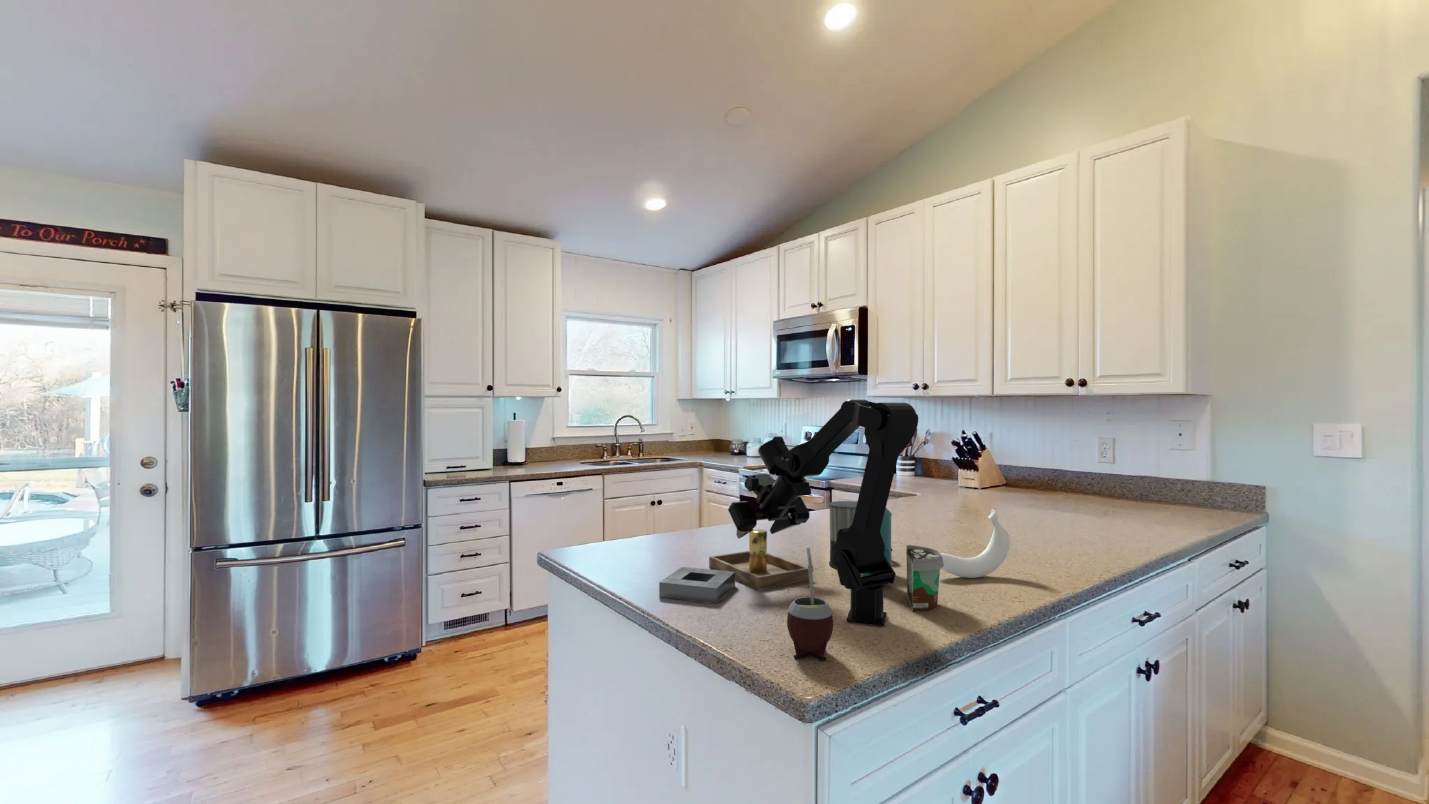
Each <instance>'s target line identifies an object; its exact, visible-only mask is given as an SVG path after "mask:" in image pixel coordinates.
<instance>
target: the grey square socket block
mask: <svg viewBox="0 0 1429 804" xmlns="http://www.w3.org/2000/svg"><path fill="white" fill-rule="evenodd" d="M658 583H659V586H658V587H659V588H658V590H659V591H658V592H659V595H658V596H659V597H658V598H662V599H670V598H673V599H672V600H678V599H679V601H689V602H696V601H697V603H703V604H704V603H705V604H706V603H707V604H715V605H716V604H718V603H719V602H720V601H722V599H724V597H726V596H727V595H728V594H729V593H730V592H731V591H732V590H733V589H734V588H735V587H736V579H735V572H730V571H720V570H714V569H711V568H710V569H709V568H708V569H707V568H697V567H689V566H688V567H687V566H682V567H680V568H679V569H677V570H676V571H673V573H671V574H670V575H668V576H666V577H665V578H663V579H661V581H659V582H658ZM731 589H732V590H731ZM729 591H730V592H729Z"/></svg>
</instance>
